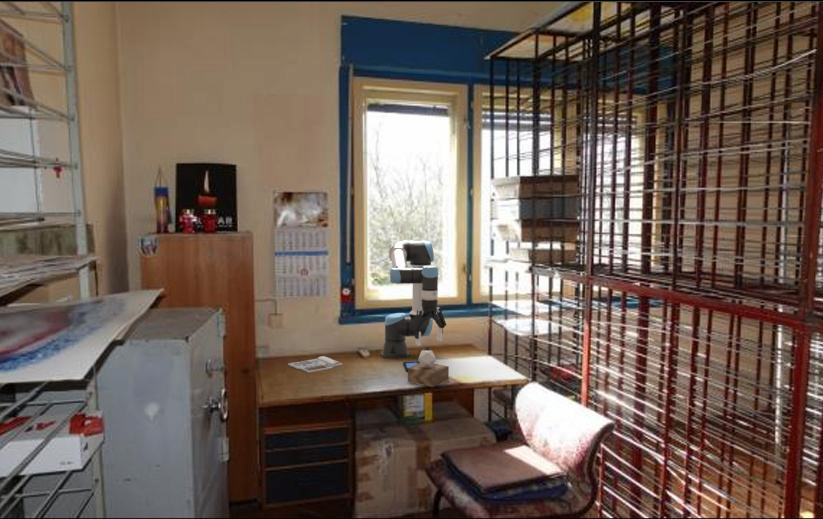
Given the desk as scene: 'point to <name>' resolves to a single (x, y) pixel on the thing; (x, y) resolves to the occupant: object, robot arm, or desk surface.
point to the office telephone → (315, 364)
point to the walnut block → (428, 374)
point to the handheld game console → (411, 363)
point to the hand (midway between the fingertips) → (428, 343)
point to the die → (426, 359)
